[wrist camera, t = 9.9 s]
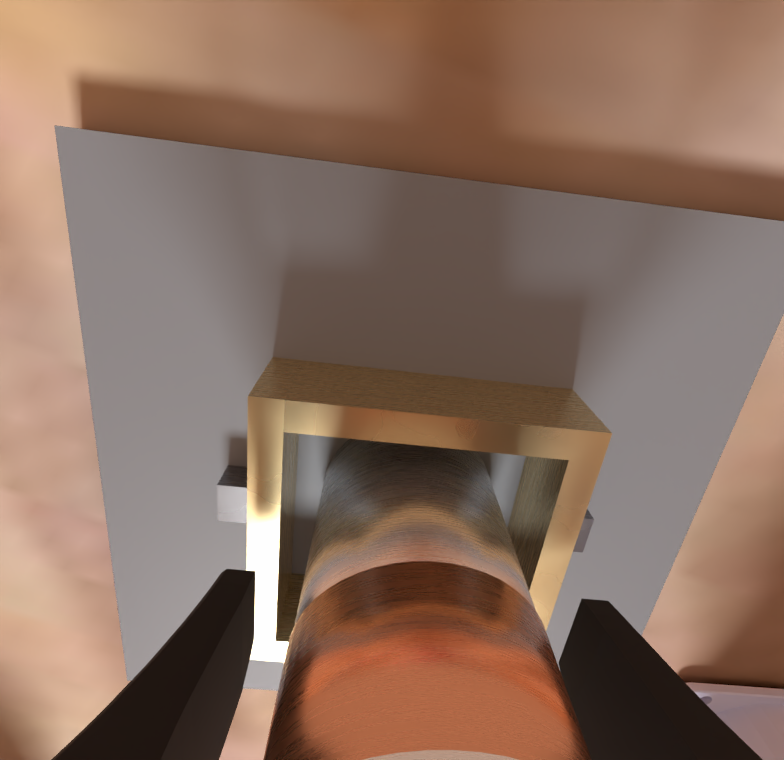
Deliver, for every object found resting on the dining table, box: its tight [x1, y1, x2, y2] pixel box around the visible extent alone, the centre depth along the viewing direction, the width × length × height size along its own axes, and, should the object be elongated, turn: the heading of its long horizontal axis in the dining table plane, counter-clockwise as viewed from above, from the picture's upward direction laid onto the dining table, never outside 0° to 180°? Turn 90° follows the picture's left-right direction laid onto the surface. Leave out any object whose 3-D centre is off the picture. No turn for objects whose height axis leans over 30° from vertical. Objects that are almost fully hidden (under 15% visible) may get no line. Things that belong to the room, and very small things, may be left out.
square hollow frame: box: [217, 357, 612, 662], centre depth 13 cm, size 11×8×2 cm
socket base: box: [55, 126, 784, 691], centre depth 15 cm, size 18×18×1 cm
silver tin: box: [264, 439, 591, 760], centre depth 10 cm, size 5×5×9 cm
